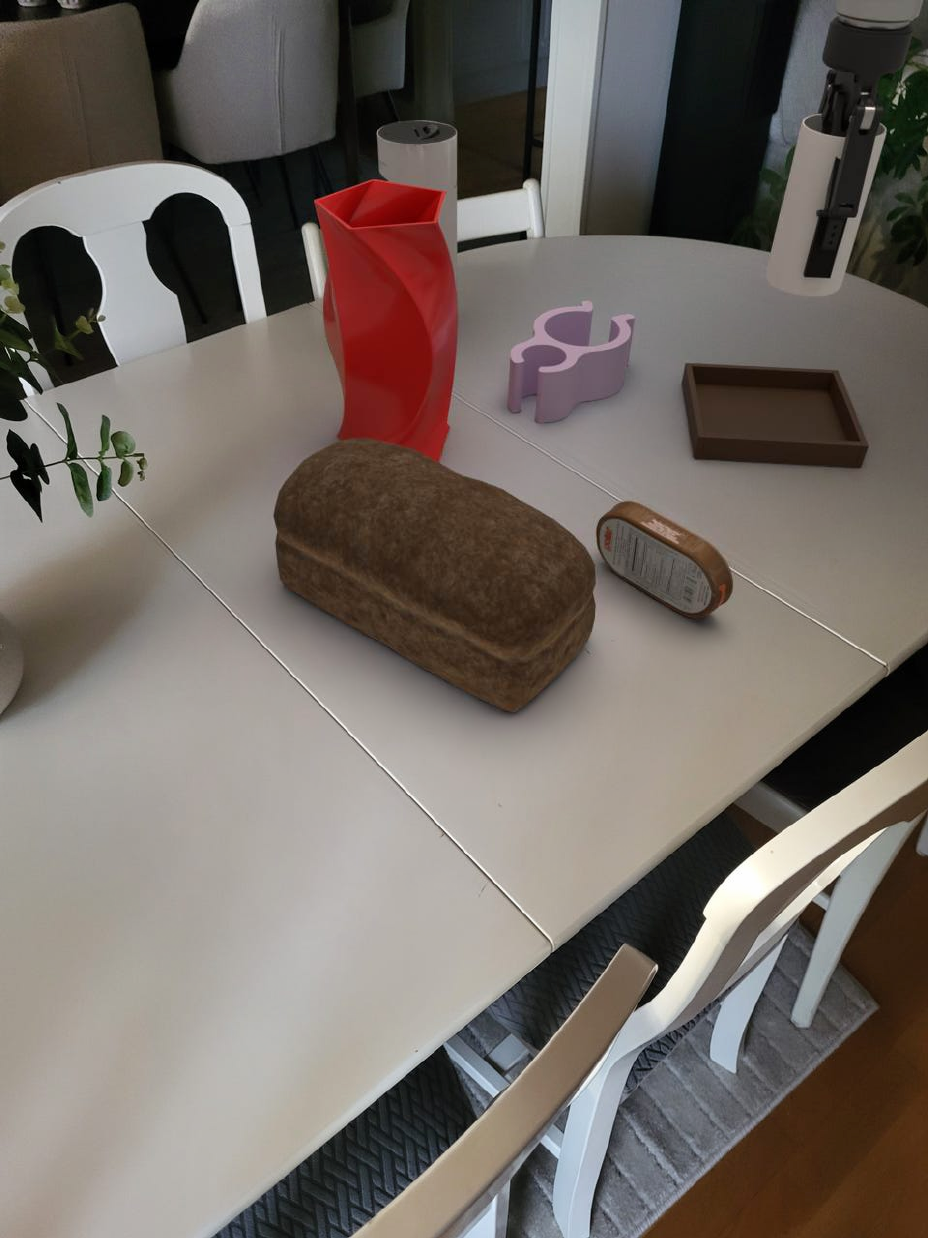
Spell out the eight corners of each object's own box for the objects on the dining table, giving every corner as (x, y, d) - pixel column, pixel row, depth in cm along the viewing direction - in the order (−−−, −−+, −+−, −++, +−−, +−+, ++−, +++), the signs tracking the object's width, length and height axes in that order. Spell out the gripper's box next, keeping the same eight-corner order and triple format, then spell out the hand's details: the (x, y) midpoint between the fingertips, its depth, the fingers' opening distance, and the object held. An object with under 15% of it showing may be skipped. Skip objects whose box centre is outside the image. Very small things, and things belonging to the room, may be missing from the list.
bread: (359, 514, 104) (349, 385, 93) (609, 640, 90) (631, 507, 79) (263, 584, 95) (238, 451, 84) (522, 735, 81) (532, 600, 70)
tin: (725, 621, 92) (744, 554, 86) (706, 636, 90) (724, 570, 85) (605, 549, 100) (615, 484, 94) (586, 563, 98) (595, 497, 92)
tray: (831, 391, 124) (838, 370, 122) (861, 468, 111) (869, 445, 109) (681, 383, 125) (685, 362, 123) (693, 458, 112) (698, 436, 110)
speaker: (390, 304, 141) (381, 113, 123) (459, 305, 141) (460, 115, 123) (383, 337, 133) (372, 139, 115) (456, 339, 133) (457, 141, 115)
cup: (762, 290, 103) (800, 133, 92) (767, 261, 109) (804, 109, 98) (840, 301, 102) (887, 142, 91) (841, 270, 107) (886, 117, 96)
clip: (566, 433, 116) (571, 382, 111) (484, 401, 121) (485, 351, 116) (644, 368, 127) (652, 320, 123) (566, 342, 133) (570, 295, 128)
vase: (476, 436, 115) (481, 200, 96) (406, 493, 107) (395, 247, 87) (379, 398, 121) (365, 170, 102) (305, 450, 113) (274, 211, 93)
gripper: (812, -7, 96) (761, 220, 111) (856, 45, 80) (790, 299, 96) (887, -4, 95) (825, 223, 111) (946, 48, 80) (865, 303, 96)
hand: (809, 258), depth 104 cm, fingers closed on cup, 8 cm apart
